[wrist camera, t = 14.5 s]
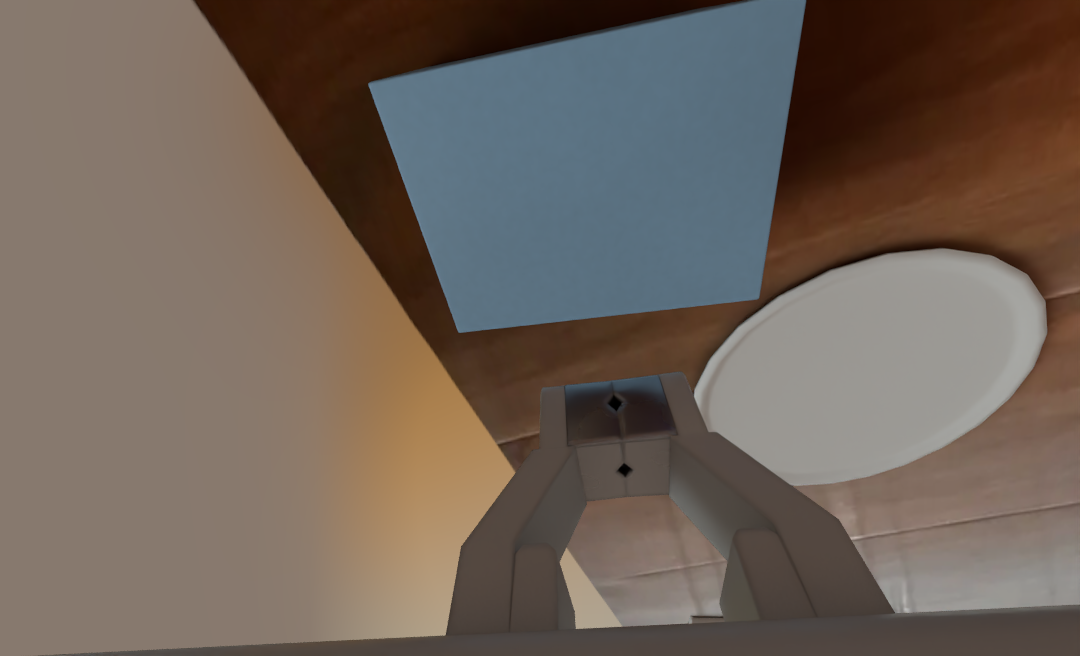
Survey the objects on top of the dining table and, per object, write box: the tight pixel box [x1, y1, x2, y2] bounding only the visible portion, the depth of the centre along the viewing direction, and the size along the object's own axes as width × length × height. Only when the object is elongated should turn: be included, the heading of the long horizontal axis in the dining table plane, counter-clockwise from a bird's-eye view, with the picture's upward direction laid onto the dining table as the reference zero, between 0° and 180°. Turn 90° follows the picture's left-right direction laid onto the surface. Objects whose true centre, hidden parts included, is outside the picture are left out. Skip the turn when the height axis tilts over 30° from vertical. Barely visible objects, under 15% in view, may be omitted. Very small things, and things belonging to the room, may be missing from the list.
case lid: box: [369, 0, 806, 333], centre depth 19 cm, size 17×13×1 cm
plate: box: [694, 248, 1047, 486], centre depth 38 cm, size 29×29×1 cm
